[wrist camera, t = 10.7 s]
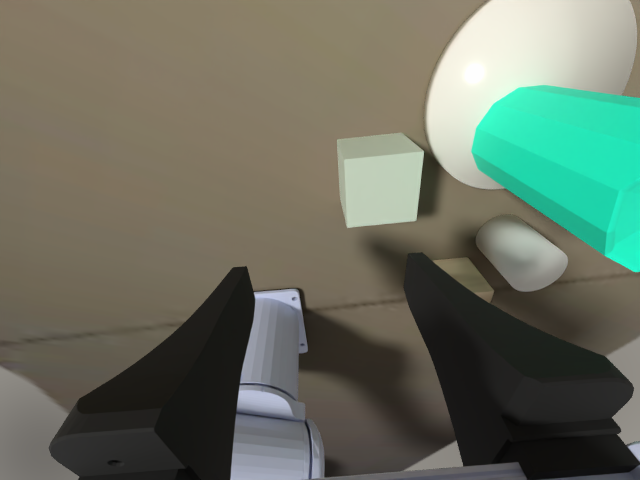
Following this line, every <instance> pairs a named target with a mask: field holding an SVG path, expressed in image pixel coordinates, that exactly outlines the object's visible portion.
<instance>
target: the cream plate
mask: <svg viewBox="0 0 640 480" xmlns="http://www.w3.org/2000/svg"><path fill="white" fill-rule="evenodd" d="M636 47H637V26H636V18H635V14H634V11H633V7H632V5H631V3H630V1H629V0H487V1H486V2H484V3H483V4H482V5H481V6H480V7H478V8H477V9H476V10H475V11H474V12H473V13H472V14H471V15H470V16H469V17H468V18H467V19H466V20H465V21H464V22H463V24H462V25H461V26H460V27H459V28H458V30H457V31H456V32H455V33H454V35H453V36H452V38H451V39H450V41H449V42H448V44H447V45H446V47H445V48H444V50H443V52H442V54H441V56H440V57H439V59H438V61H437V63H436V65H435V68H434V70H433V73H432V75H431V78H430V81H429V85H428V88H427V91H426V97H425V103H424V115H423V120H424V131H425V136H426V141H427V143H428V146H429V149H430V151H431V153H432V154H433V156H434V158H435V159H436V161H437V162H438V163H439V164H440V166H441V167H443V168H444V169H445V170H446V171H447V172H448V173H449V174H451V175H452V176H453V177H454V178H456V179H457V180H459V181H461V182H462V183H465V184H467V185H469V186H473V187H477V188H481V189H504V188H505V187H503V186H502V185H500V184H499V183H497V182H496V181H494V180H493V179H491V178H490V177H489V176H487V175H486V174H484V173H483V172H481V171H480V170H478V168H477V165H476V163H475V160H474V157H473V155H472V152H471V150H472V145H473V140H474V136H475V131H476V127H477V126H478V124H479V123H480V121H481V120H482V119H483V117H484V116H485V115H486V113H487V112H488V110H489V109H490V108H491V106H492V105H493V104H494V103H495V102H497V101H498V100H500V99H501V98H503V97H505V96H506V95H508V94H509V93H511V92H512V91H514V90H516V89H517V88H519V87H528V86H538V85H549V86H556V87H564V88H571V89H578V90H585V91H592V92H599V93H607V94H614V95H622V93H623V91H624V89H625V87H626V84H627V82H628V79H629V77H630V73H631V70H632V67H633V63H634V58H635V53H636Z"/></svg>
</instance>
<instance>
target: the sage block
mask: <svg viewBox="0 0 640 480" xmlns="http://www.w3.org/2000/svg"><path fill="white" fill-rule="evenodd" d="M337 150H338V168H339V186H340V200H341V204H342V208H343V212H344V216H345V221H346V225H347V228H349V227H359V226H369V225H379V224H389V223H399V222H409V221H416V219H417V210H418V201H419V192H420V183H421V174H422V165H423V156H424V151H423V150H422V149H421V148H420V147H418V146H417V145H416V144H415V143H414V142H412V141H411V140H410V139H409V138H408V137H406V136H405V135H404V134H403V133H394V134H384V135H375V136H365V137H356V138H346V139H337Z"/></svg>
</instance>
